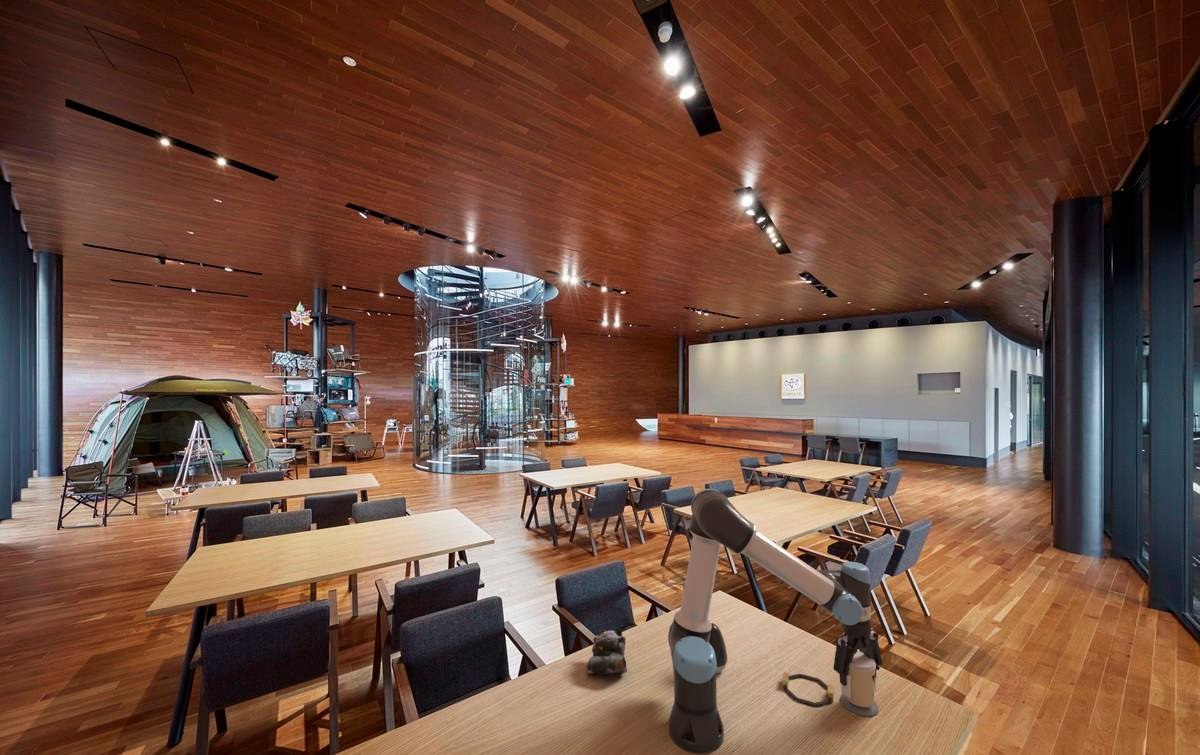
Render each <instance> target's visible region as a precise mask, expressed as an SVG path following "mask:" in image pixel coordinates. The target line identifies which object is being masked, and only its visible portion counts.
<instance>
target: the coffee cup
mask: <svg viewBox="0 0 1200 755" xmlns="http://www.w3.org/2000/svg"><path fill="white" fill-rule="evenodd" d="M849 668H850V669H849V672H848V674H849V675H850V689H851V698H848V697H846V696H845V695H844V696H845V698H846V699H847V700H848V701H849V702H851V703H852V704H854V705H857V706H860V707H870V706H872V705H873V701H875V692H874V686H875V683H876V678H875V669H876V664H875V662H874V660H873V659H872V658H871V659H870V658H869V657H867V656H866V655H864V653H863V651H859V650H857V653H856V654H854V657H853V660H852V663H850V666H849ZM876 670H877V669H876Z"/></svg>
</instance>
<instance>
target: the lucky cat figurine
mask: <svg viewBox="0 0 1200 755" xmlns="http://www.w3.org/2000/svg"><path fill="white" fill-rule="evenodd" d="M626 642H627V641H626V637H625V635H623V631H622V629H621V628H618V629H617V630H606V629H603V630H601V632H600V634H599V635H595V637H594V636H593V645H592V648H591V652H592V656H591V657H590V658H589V659H588V660H587V663H586V669H587V672H586V674H587V675H593V674H597V675H598V674H599V675H601V674H602V675H605V674H616V673H620V674H622V673H623V674H625V673H627V672H628V669H627V662H626V658H625V651H626V650H625V649H626Z"/></svg>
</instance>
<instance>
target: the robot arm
mask: <svg viewBox="0 0 1200 755" xmlns="http://www.w3.org/2000/svg"><path fill="white" fill-rule="evenodd" d="M690 508H691V509H690V510H691V519H690V525H689V532H690V533H691V535H692V541H691V549H690V553H689V560H688V565H687V571H686V576H685V582H684V588H683V593H682V599H681V605H680V609H679V610H678V611H677V612H675V613H674V616H673V621H672V623H671V624H670V626H669V629H668V637H667V639H668V645H669V650H670V657H671V662H672V670H673V683H674V684H673V690H674V691H673V695H674V698H673V699H674V700H673V704H672V708H671V711H670V714H669V717H668V734H669V736H670V738H671V739H672V741H673V742H674V743H675V744H676V745H677V746H678V747H679V748H681V749H683V750H685V751H687V752H691V753H694V754H695V753H696V754H707V753H711V752H715V751H716V750H717V749H719V748H720V747H721V746H722V744H723V742H724V738H725V734H724V730H725V729H724V723H723V721H722V718H721V715H720V711H719V709H718V704H717V696H718V695H717V673H716V666H717V662H716V657H715V652H714V649H713V647H712V646H711V645H710V644H709V640H710V634H711V628H712V625H711V623H712V622H711V621H710V620H709V614H710V609H711V603H712V599H713V598H712V597H713V592H714V591H713V590H714V585H715V580H716V575H717V570H718V563H719V557H720V552H721V547H722V545H723V546H724V547H725V548H727V549H728V550H730V551H732V553H735V554H737V555H740V554H743V555H744V556H746V557H747V558H749V559H750V560H752V561H753V562H755V563H756V564H757V565H759V566H760V567H762V568H763V569H765V570H767V571H768V572H770V573H771V574H773V575H774V576H776V577H777V578H779V579H780V580H782V581H783V582H785V583H786V584H787V585H790V586H791V588H793V589H795V590H796V591H798V592H800V593H801V594H802V595H804V596H805V597H807V598H809V599H810V600H812V601H813V602H814V603H816V604H817V605H819V606H820V607H822V608H823V609H824V610H826V611H827V612H829V613H831V614H832V615H833V617H834V618H835V619H836V620H838V621H839V622H840V623H841V624H842V627H843V629H844V635H843V636H842V637H840V636H836V638H835V641H836V642H835V644H836V648H835V654H834V659H833V660H834V661H833V667H832V668H833V669H832V670H833V671H835V672H836V673H837V674H839V683H840V688H841V690H840V692H841V694H844V695H845V696H846V697H848V698H851V689H850V675H849V674H848V672H849V669H850V668H849V666H850V663H852V660H853V657H854V654H856V653H857V651H859V650H861V652H863V653H864V655H866V656H867V657H869V658H870V659H871V658H872V659H873V660H874V662H875V664H876V669H875V679H877V671H879V670H881V668H880V666H882V665H883V660H882V654H881V650H880V645H879V634H878V633H877V632H876V631H874V630H872V619H871V618H872V611H871V610H872V605H871V603H872V600H871V598H872V597H871V584H872V582H871V581H872V580H871V574H870V569H869V568H868V566H866V565H865V564H863V563H861V562H855V561H846V562H843V563H842V564H841V567H840V569H838V570H837V569H836V570H829V569H815V568H814V567H812V566H811V565H809V564H808V563H806V562H804V561H803V560H802V559H800V558H799V557H797V556H795V555H794V554H793V553H791V552H790V551H788V550H786V549H784V547H782V546H781V545H779V544H778V543H776V542H774V541H773V540H772V539H770V538H769V537H767V536H765V535H764V534H763V533H761V532H759V531H758V530H757V529H756V526H755V523H753V522H751V521H749V520H748V518H746V517H744V516H743V515H742V514H741V513H740V512H739V510H738V509H737V508H736V507H735V506H734V505H733V504H732V502H730V500H729V498H728V497H727V496H726V494H724V493H723V492H722V491H719V490H717V489H714V488H704V489H701V490H700V491H698V492H696V493H695V495H694V496H693V498H692V500H691V504H690ZM876 686H877V685H876V682H875V686H874V693H875V692H876V691H877V690H876Z"/></svg>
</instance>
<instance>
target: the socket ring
mask: <svg viewBox="0 0 1200 755" xmlns="http://www.w3.org/2000/svg"><path fill="white" fill-rule="evenodd" d="M799 678H802V679H806V680H808V681H809V680H810V681H813V682H817V683H818V684H820V685H821V686H822V687H823V688H825V689H826V691H827V692H826V693H827V699H825V700H821V701H817V702H813V701H811V700H807V699H803V698H800V697H797V696H796V694H794V693H793V691H791V690H790V689H789V684H790V683H789V682H790V681H791V680H795V679H799ZM781 688H782V689H783V691H785V693H786V694H788V696H789V697H790V698H792V699H793V701H796V702H797V703H799V704H800V703H801V704H804V705H807V706H811V707H814V708H818V707H823V706H826V705H831V704H832V703H834V701H835V700H834V699H835V697H834V696H835V686H834V685H833V684H830V683H828V684H827V683H825V682H824V681H823V680H822V679H820V678H818V677H814V676H810V675H807V674H803V673H796V674H792V675H790V673H789V672H785V671H783V673H782V678H781Z"/></svg>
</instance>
